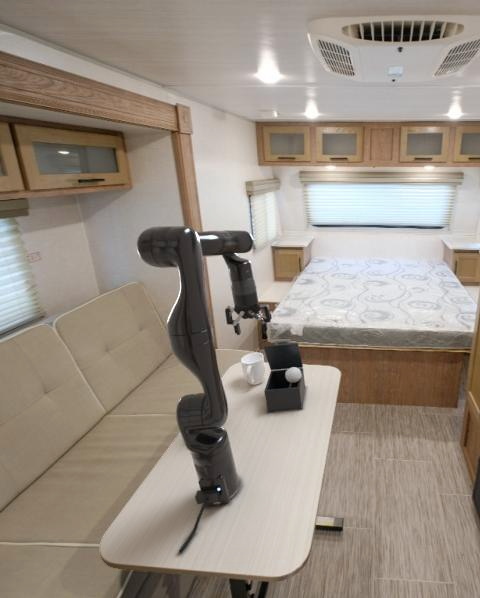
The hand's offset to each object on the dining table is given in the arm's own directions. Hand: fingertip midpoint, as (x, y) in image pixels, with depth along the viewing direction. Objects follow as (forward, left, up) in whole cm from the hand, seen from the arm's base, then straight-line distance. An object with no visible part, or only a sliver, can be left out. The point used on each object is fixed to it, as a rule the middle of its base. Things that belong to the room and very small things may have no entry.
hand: (252, 333), depth 120 cm
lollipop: (+1, -8, -31) cm, 32 cm away
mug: (+16, +7, -32) cm, 37 cm away
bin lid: (+7, -8, -15) cm, 19 cm away
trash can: (+3, -8, -32) cm, 33 cm away
